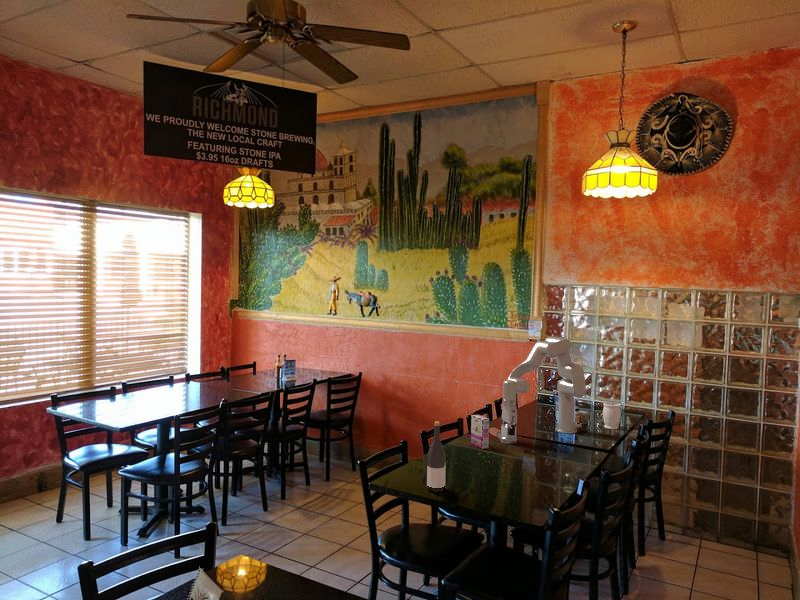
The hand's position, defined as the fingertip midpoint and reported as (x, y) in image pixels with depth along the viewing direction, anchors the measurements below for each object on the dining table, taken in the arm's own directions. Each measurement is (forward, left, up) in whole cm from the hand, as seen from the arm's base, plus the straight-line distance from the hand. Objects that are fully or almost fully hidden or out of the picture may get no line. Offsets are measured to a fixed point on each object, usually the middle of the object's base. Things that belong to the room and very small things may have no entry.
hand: (508, 433), depth 333 cm
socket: (0, 0, -2) cm, 2 cm away
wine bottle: (+65, +57, -5) cm, 87 cm away
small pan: (0, -8, -5) cm, 10 cm away
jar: (-77, -11, -5) cm, 78 cm away
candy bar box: (+19, +3, -5) cm, 20 cm away
